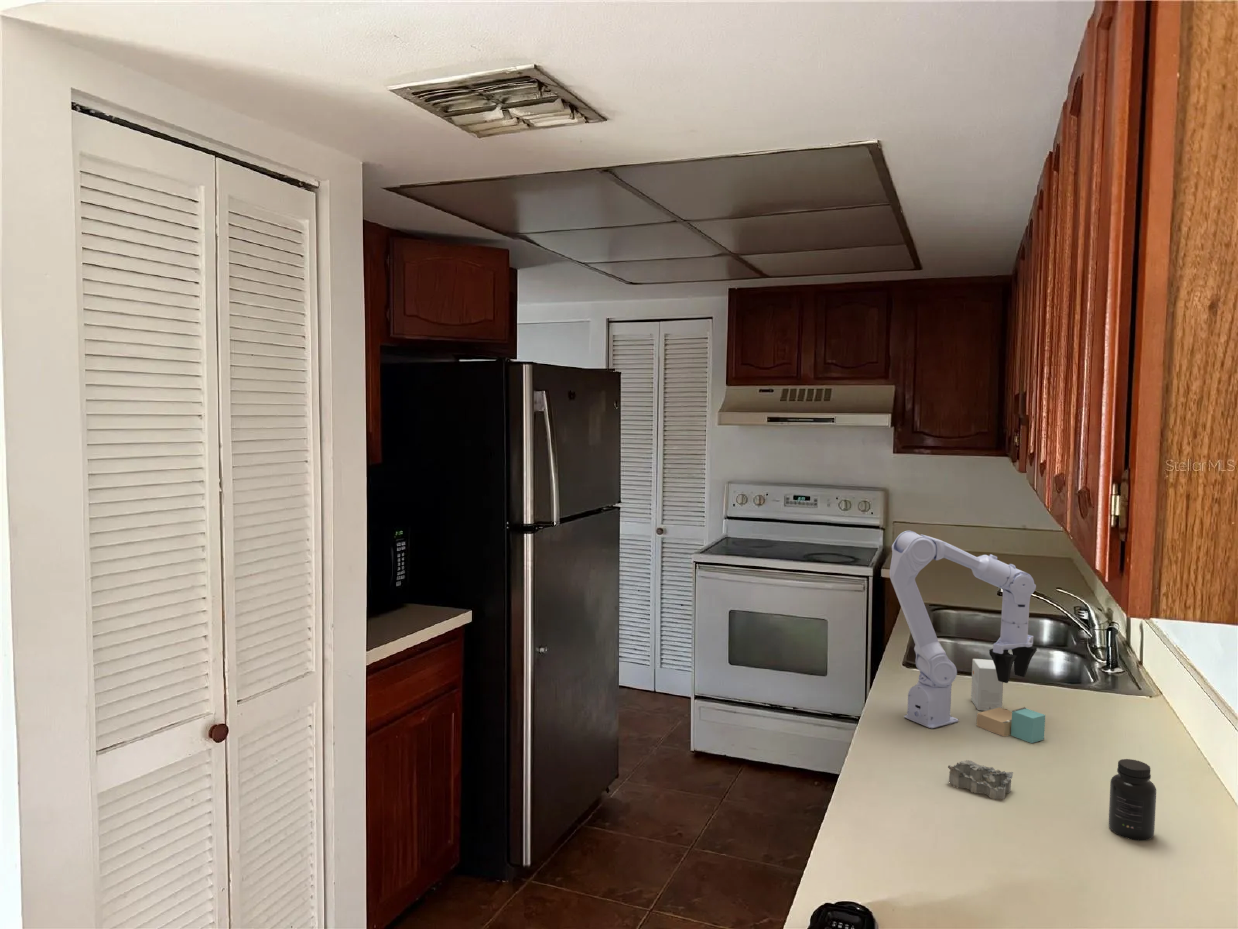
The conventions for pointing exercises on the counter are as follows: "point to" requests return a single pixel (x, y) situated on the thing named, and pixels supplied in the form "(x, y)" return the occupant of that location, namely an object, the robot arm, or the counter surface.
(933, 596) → the counter surface
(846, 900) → the counter surface
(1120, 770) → the supplement bottle
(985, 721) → the taped cardboard box
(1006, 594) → the robot arm
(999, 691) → the small box
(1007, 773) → the egg carton
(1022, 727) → the teal box
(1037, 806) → the counter surface
